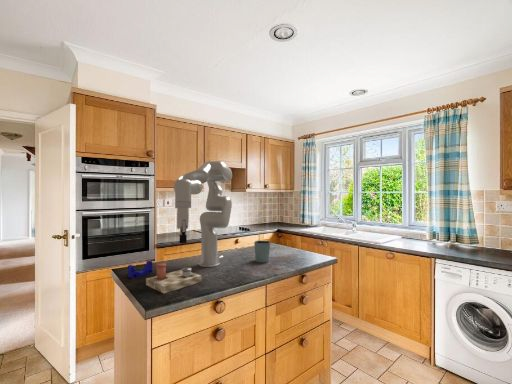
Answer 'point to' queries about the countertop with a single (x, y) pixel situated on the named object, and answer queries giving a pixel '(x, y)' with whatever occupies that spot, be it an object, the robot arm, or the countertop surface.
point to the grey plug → (186, 272)
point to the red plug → (161, 271)
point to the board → (172, 281)
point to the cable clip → (134, 274)
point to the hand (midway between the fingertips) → (183, 242)
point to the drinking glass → (262, 251)
